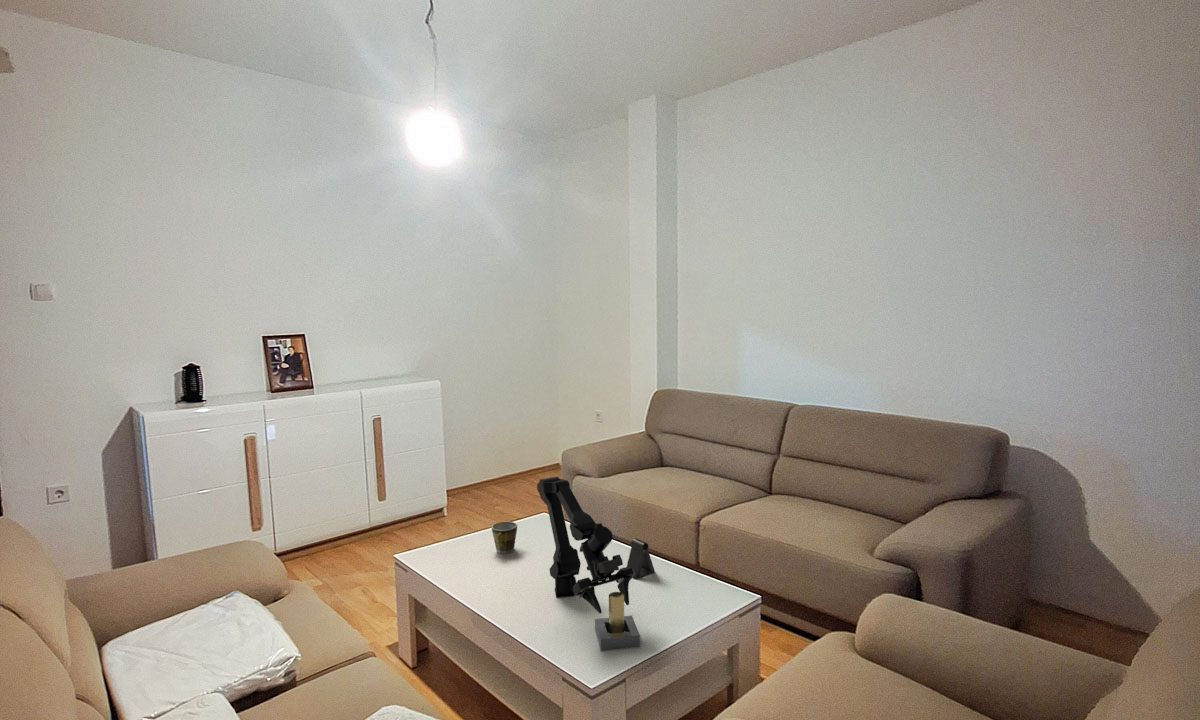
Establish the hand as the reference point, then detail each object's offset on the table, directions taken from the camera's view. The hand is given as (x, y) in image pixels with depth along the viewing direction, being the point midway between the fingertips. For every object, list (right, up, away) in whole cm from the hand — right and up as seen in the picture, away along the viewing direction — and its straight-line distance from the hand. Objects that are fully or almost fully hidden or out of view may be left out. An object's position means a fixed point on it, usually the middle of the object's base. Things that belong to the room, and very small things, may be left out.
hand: (614, 609), depth 180 cm
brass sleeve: (+1, -8, 0) cm, 8 cm away
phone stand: (+10, -4, +43) cm, 44 cm away
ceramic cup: (-42, -3, +64) cm, 76 cm away
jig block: (+1, -8, 0) cm, 8 cm away
